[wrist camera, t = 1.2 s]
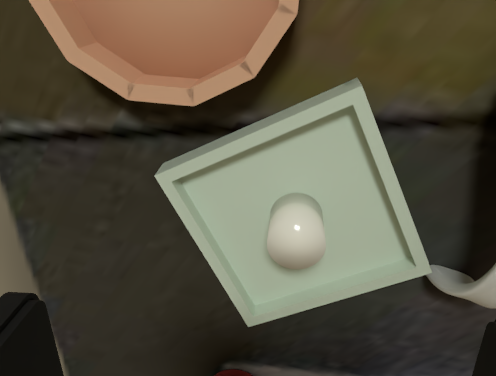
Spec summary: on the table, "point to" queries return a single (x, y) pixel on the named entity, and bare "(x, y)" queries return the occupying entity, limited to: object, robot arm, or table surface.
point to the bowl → (167, 43)
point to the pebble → (296, 231)
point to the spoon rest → (466, 285)
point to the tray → (307, 182)
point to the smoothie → (233, 373)
